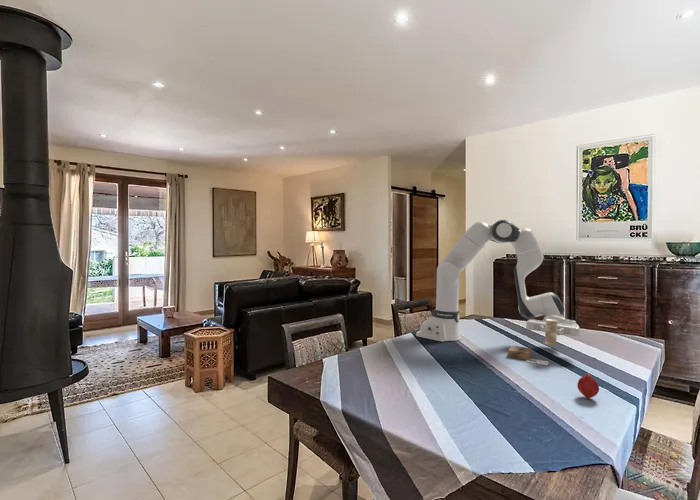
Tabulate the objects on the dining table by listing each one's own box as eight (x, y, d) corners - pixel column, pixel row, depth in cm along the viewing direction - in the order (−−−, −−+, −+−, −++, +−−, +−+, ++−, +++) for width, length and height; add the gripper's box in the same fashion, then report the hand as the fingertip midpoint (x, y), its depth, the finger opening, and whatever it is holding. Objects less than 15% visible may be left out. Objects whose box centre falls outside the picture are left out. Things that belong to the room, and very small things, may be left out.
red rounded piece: (578, 392, 122) (579, 368, 122) (599, 397, 119) (600, 372, 119) (575, 398, 118) (576, 373, 118) (597, 403, 114) (598, 378, 114)
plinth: (508, 357, 159) (508, 350, 159) (511, 352, 166) (511, 345, 166) (529, 360, 155) (529, 352, 155) (531, 355, 162) (531, 348, 162)
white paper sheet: (525, 361, 154) (525, 361, 154) (527, 358, 158) (527, 357, 158) (547, 365, 149) (547, 364, 149) (548, 362, 154) (548, 361, 154)
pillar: (544, 344, 156) (546, 320, 155) (545, 341, 159) (546, 318, 159) (555, 345, 153) (557, 321, 153) (556, 343, 157) (557, 320, 156)
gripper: (527, 314, 172) (524, 319, 161) (579, 321, 162) (579, 327, 150) (527, 328, 173) (523, 334, 161) (579, 335, 162) (579, 342, 150)
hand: (551, 331), depth 155 cm, fingers closed on pillar, 4 cm apart
